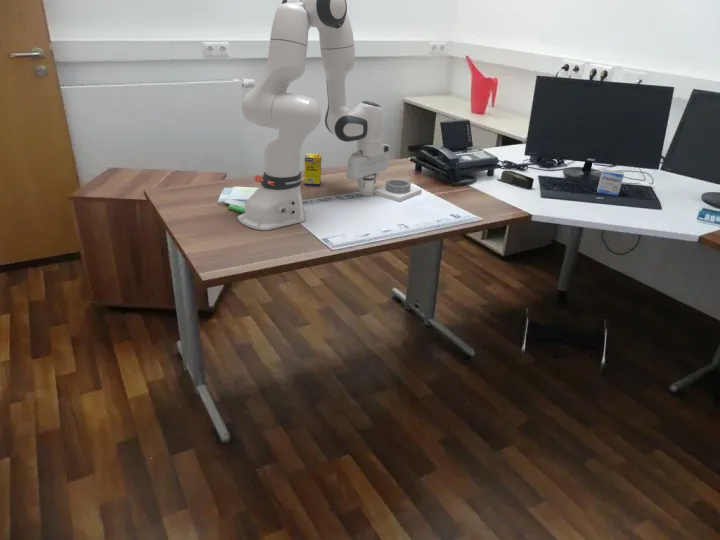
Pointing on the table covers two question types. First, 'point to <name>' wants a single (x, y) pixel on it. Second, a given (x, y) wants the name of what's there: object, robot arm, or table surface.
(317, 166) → the supplement box
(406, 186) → the collar mount
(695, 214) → the table surface
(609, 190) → the medicine box
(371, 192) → the lens cylinder
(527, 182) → the dark green long block
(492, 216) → the table surface
